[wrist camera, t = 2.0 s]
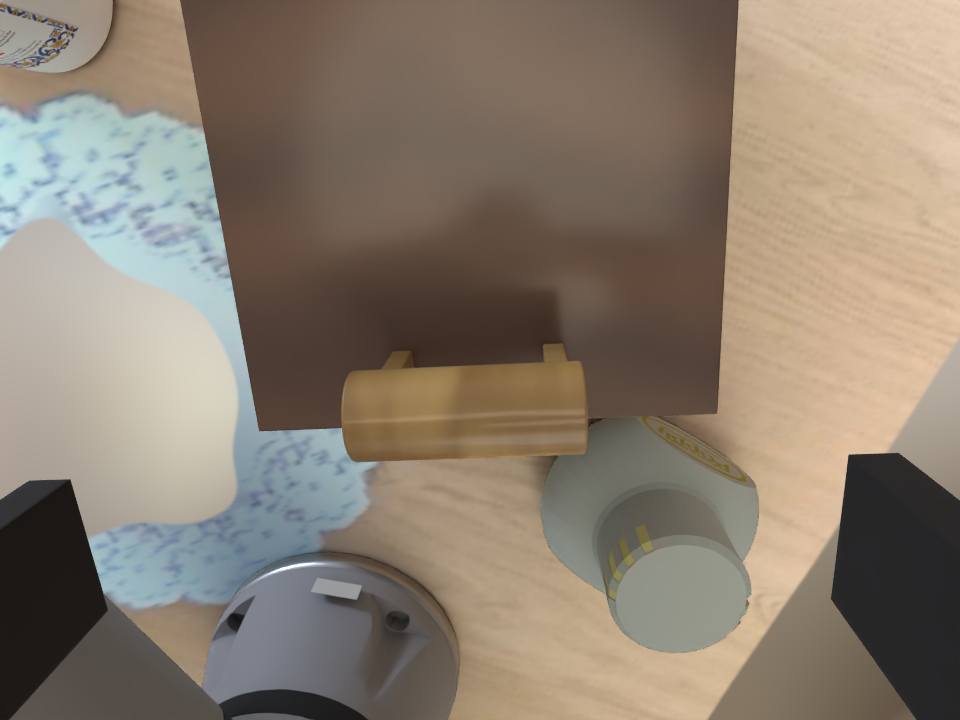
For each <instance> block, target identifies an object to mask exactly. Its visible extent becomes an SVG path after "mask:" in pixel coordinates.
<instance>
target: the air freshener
mask: <svg viewBox="0 0 960 720" xmlns="http://www.w3.org/2000/svg"><path fill="white" fill-rule="evenodd" d="M758 518H759V500H758V494H757V490H756V485H755V483H754V481H753V480H752V479H751V478H750V477H749V476H748V475H747V474H746V473H745V472H744V471H743V470H742V469H740V468H739V467H738V466H737V465H735V464H734V463H733V462H731V461H730V460H729V459H727V458H726V457H725V456H723V455H722V454H720V453H719V452H717V451H716V450H714V449H713V448H711V447H710V446H708V445H707V444H705V443H703V442H702V441H700V440H699V439H697V438H695V437H694V436H692V435H690V434H688V433H687V432H685V431H683V430H681V429H680V428H678V427H676V426H674V425H672V424H670V423H668V422H666V421H664V420H662V419H660V418H658V417H655V416H646V417H620V418H605V419H602V420H601V421H599V422H597V423H595V424H593V425H591V426H590V427H588V446H587V451H586V453H585V454H580V455H559V456H558V457H557V459H556V460H555V462H554V463H553V465H552V467H551V469H550V472H549V474H548V476H547V478H546V481H545V485H544V489H543V493H542V499H541V519H542V526H543V532H544V535H545V538H546V541H547V544H548V546H549V548H550V549H551V551H552V552H553V554H554V555H555V556H556V557H557V558H558V559H559V560H560V561H561V562H562V563H563V564H564V565H565V566H566V567H567V568H568V569H569V570H570V571H572V572H573V573H574V574H576V575H577V576H578V577H580V578H581V579H582V580H584V581H585V582H586V583H588V584H590V585H591V586H593V587H594V588H596V589H597V590H599V591H601V592H603V593H604V594H606V596H607V600H608V605H609V609H610V612H611V615H612V617H613V619H614V621H615V623H616V624H617V626H618V627H619V628H620V629H621V631H622V632H623V633H624V634H625V635H626V636H628V637H629V638H630V639H631V640H633V641H635V642H636V643H638V644H639V645H642V646H644V647H646V648H649V649H652V650H656V651H660V652H668V653H686V652H692V651H697V650H700V649H704V648H707V647H709V646H711V645H713V644H715V643H717V642H719V641H720V640H722V639H724V638H725V637H726V636H727V635H728V634H729V633H730V632H732V631H733V630H734V629H735V628H736V627H737V626H738V625H739V623H740V619H741V618H742V616H743V615H745V614H746V612H747V609H748V606H749V602H748V600H747V598H748V597H749V596H750V595H751V583H750V579H749V575H748V573H747V571H746V568H745V566H744V564H743V563H742V562H743V561H744V559H745V557H746V555H747V554H748V552H749V550H750V548H751V545H752V543H753V540H754V537H755V534H756V530H757V524H758Z"/></svg>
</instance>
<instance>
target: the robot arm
mask: <svg viewBox="0 0 960 720" xmlns="http://www.w3.org/2000/svg"><path fill="white" fill-rule="evenodd" d="M831 600H832V601H833V602H834V604H835V605H836V607H837V608H838V610H839V611H840V612H841V614H842V615H843V617H844V618H845V619H846V621H847V622H848V624H849V625H850V626H851V628H852V629H853V631H854V632H855V634H856V635H857V636H858V638H859V639H860V641H861V642H862V643H863V645H864V646H865V648H866V649H867V651H868V652H869V653H870V655H871V656H872V657H873V659H874V660H875V662H876V663H877V665H878V666H879V668H880V669H881V670H882V672H883V673H884V675H885V676H886V677H887V679H888V680H889V682H890V683H891V684H892V686H893V687H894V688H895V690H896V692H897V693H898V694H899V696H900V697H901V699H902V700H903V701H904V703H905V704H906V706H907V707H908V708H909V710H910V711H911V713H912V714H913V716H914V717H915V718H916V720H960V500H958V499H957V498H956V497H954V496H953V495H952V494H951V493H949V492H948V491H947V490H946V489H944V488H943V487H942V486H940V485H939V484H938V483H937V482H935V481H934V480H933V479H931V478H930V477H929V476H928V475H926V474H925V473H924V472H922V471H921V470H920V469H919V468H917V467H916V466H915V465H913V464H912V463H911V462H910V461H908V460H907V459H906V458H904V457H903V456H902V455H900V454H899V453H886V454H854V455H849V456H848V464H847V473H846V481H845V489H844V497H843V505H842V514H841V522H840V530H839V539H838V546H837V555H836V563H835V572H834V579H833V588H832V596H831ZM458 674H459V651H458V644H457V641H456V637H455V634H454V631H453V629H452V626H451V624H450V622H449V620H448V618H447V617H446V615H445V613H444V612H443V610H442V609H441V607H440V606H439V605H438V604H437V602H436V601H435V600H434V599H433V598H432V597H431V596H430V595H429V594H428V593H427V592H426V591H425V590H424V589H423V588H422V587H421V586H420V585H418V584H417V583H416V582H415V581H413V580H412V579H410V578H409V577H407V576H406V575H404V574H403V573H401V572H399V571H397V570H396V569H394V568H392V567H389V566H387V565H385V564H383V563H380V562H377V561H375V560H372V559H368V558H365V557H361V556H356V555H351V554H345V553H335V552H319V553H308V554H302V555H297V556H293V557H289V558H286V559H283V560H280V561H277V562H275V563H273V564H271V565H269V566H267V567H265V568H263V569H262V570H260V571H259V572H257V573H256V574H254V575H253V576H252V577H251V578H249V579H248V580H247V581H246V582H245V583H244V584H243V585H242V586H241V587H240V589H239V590H238V591H237V592H236V594H235V595H234V597H233V598H232V600H231V601H230V603H229V604H228V606H227V608H226V609H225V611H224V612H223V614H222V615H221V617H220V619H219V622H218V624H217V626H216V629H215V632H214V634H213V637H212V639H211V643H210V646H209V652H208V657H207V662H206V667H205V673H204V678H203V683H202V688H201V687H200V686H199V685H197V684H196V683H195V682H194V681H193V680H192V679H191V678H190V677H189V676H188V675H187V674H186V673H185V672H184V671H183V670H182V669H181V668H180V667H179V666H178V665H177V664H176V663H175V662H174V661H173V660H172V659H171V658H170V657H169V656H167V655H166V654H165V653H164V652H163V651H162V650H161V649H160V648H159V647H158V646H157V645H156V644H155V643H154V642H153V641H152V640H151V639H150V638H149V637H148V636H147V635H146V634H145V633H144V632H143V631H142V630H141V629H140V628H138V627H137V626H136V625H135V624H134V623H133V622H132V621H131V620H130V619H129V618H128V617H127V616H126V615H125V614H124V613H123V612H122V611H121V610H120V609H119V608H118V607H117V606H116V605H115V604H114V603H113V602H112V601H111V600H109V599H108V598H107V597H106V596H105V595H104V594H103V591H102V587H101V584H100V580H99V577H98V573H97V570H96V566H95V563H94V560H93V556H92V553H91V549H90V546H89V542H88V539H87V536H86V532H85V528H84V525H83V522H82V518H81V515H80V511H79V508H78V504H77V501H76V497H75V494H74V491H73V487H72V484H71V480H39V481H38V480H37V481H28V482H26V483H25V484H23V485H22V486H21V487H19V488H17V489H16V490H14V491H13V492H11V493H10V494H8V495H7V496H5V497H4V498H2V499H1V500H0V720H448V718H449V715H450V712H451V709H452V706H453V703H454V700H455V696H456V691H457V683H458Z"/></svg>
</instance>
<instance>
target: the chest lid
mask: <svg viewBox="0 0 960 720" xmlns="http://www.w3.org/2000/svg"><path fill="white" fill-rule="evenodd" d="M738 1H739V0H180V2H181V7H182V12H183V18H184V23H185V29H186V34H187V40H188V45H189V51H190V56H191V62H192V67H193V72H194V78H195V83H196V89H197V94H198V100H199V105H200V111H201V116H202V122H203V127H204V132H205V138H206V143H207V149H208V154H209V160H210V165H211V171H212V176H213V182H214V187H215V192H216V198H217V203H218V209H219V214H220V220H221V225H222V231H223V236H224V242H225V247H226V252H227V258H228V263H229V269H230V274H231V280H232V285H233V291H234V296H235V302H236V307H237V312H238V318H239V323H240V329H241V334H242V340H243V345H244V351H245V356H246V362H247V367H248V372H249V378H250V383H251V389H252V394H253V400H254V405H255V411H256V416H257V422H258V427H259V431H277V430H304V429H330V428H342V433H343V439H344V444H345V447H346V451H347V453H348V455H349V457H350V459H351V460H352V461H354V462H374V461H404V460H433V459H463V458H492V457H521V456H551V455H580V454H585V453H586V451H587V446H588V419H594V418H620V417H646V416H673V415H699V414H717V408H718V389H719V369H720V350H721V331H722V311H723V292H724V272H725V253H726V234H727V214H728V195H729V175H730V156H731V137H732V117H733V98H734V79H735V59H736V40H737V20H738Z"/></svg>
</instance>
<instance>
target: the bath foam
mask: <svg viewBox="0 0 960 720" xmlns="http://www.w3.org/2000/svg"><path fill="white" fill-rule="evenodd" d="M112 14H113V0H0V65H1V66H6V67H12V68H21V69H26V70H32V71H37V72H44V73H61V72H67V71H70V70H73V69H76V68H78V67H80V66H82V65H84V64H85V63H87V62H88V61H89V60H91V59H92V58H93V57H94V56H95V55H96V54H97V53H98V51H99V50H100V49H101V47H102V46H103V44H104V42H105V40H106V38H107V35H108V33H109V30H110V26H111V21H112Z"/></svg>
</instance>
